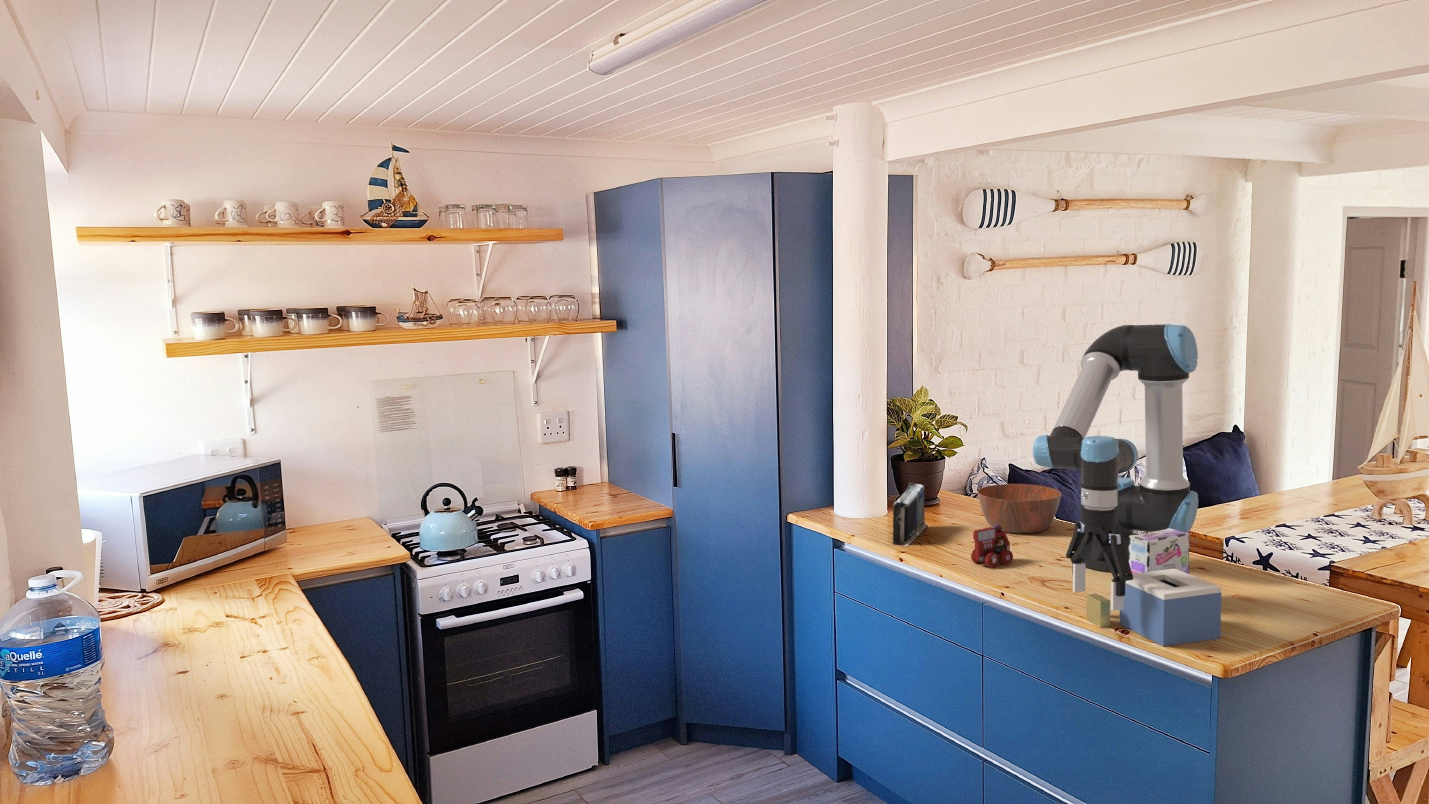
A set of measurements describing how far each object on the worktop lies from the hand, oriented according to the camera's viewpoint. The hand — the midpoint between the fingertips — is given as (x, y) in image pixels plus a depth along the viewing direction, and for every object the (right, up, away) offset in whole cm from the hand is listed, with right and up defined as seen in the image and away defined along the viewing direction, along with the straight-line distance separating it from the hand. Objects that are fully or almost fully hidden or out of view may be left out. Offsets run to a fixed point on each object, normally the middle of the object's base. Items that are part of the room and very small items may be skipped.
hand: (1097, 600), depth 208 cm
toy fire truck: (-9, 0, +49) cm, 50 cm away
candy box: (+20, -3, +14) cm, 24 cm away
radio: (-25, +2, +80) cm, 84 cm away
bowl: (+10, +5, +85) cm, 86 cm away
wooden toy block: (+1, -5, +1) cm, 5 cm away
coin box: (+13, -6, -5) cm, 15 cm away
